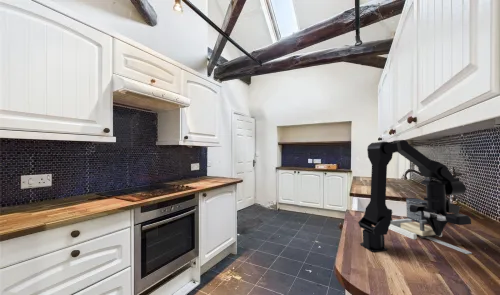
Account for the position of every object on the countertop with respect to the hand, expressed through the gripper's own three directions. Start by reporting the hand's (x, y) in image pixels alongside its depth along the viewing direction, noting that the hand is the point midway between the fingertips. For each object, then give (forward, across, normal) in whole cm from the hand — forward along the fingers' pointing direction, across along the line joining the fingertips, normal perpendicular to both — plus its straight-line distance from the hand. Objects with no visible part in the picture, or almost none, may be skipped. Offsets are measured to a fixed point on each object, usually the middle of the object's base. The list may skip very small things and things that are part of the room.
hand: (438, 235), depth 81 cm
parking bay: (+3, +4, 0) cm, 5 cm away
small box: (+3, +23, -18) cm, 29 cm away
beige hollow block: (+2, +8, 0) cm, 8 cm away
